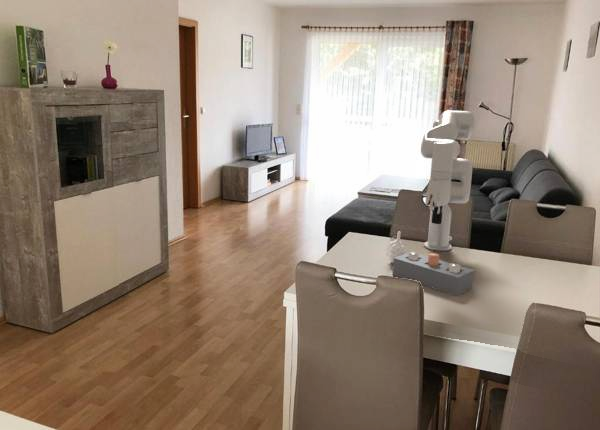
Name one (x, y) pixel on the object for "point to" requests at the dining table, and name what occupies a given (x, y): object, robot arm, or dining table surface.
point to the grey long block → (434, 274)
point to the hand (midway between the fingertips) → (436, 223)
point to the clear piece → (454, 268)
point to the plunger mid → (433, 259)
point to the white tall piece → (396, 248)
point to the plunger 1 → (413, 256)
